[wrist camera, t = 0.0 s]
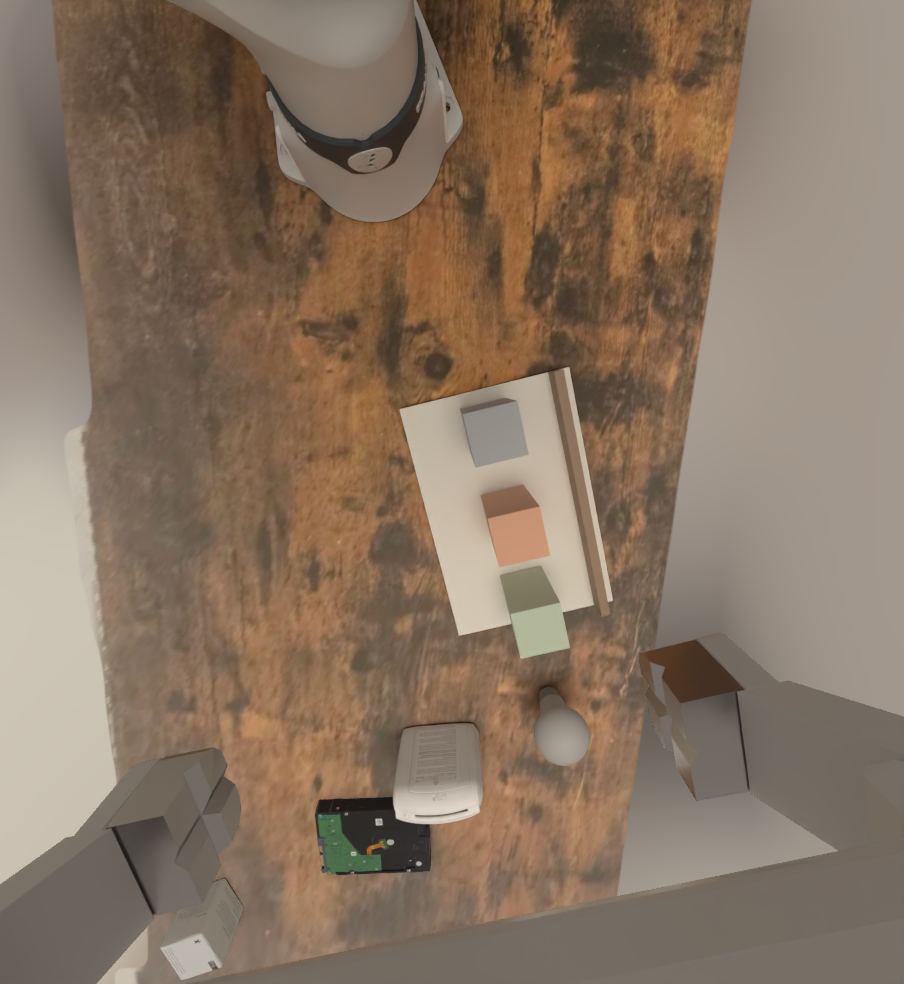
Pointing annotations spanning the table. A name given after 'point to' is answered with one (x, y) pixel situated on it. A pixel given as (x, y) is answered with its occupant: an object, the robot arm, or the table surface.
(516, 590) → the sage green block
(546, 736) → the lightbulb
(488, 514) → the terracotta rectangular block
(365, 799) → the disk drive
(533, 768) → the table surface
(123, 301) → the table surface
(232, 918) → the skincare box
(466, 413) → the blue-grey block
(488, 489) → the cream board with rail
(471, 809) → the photo printer
